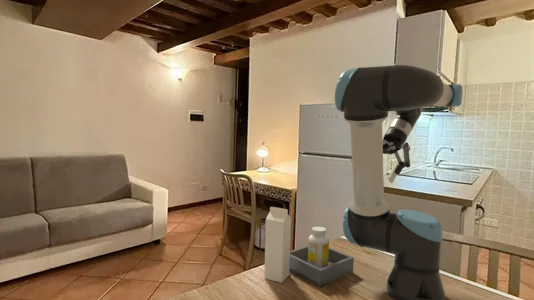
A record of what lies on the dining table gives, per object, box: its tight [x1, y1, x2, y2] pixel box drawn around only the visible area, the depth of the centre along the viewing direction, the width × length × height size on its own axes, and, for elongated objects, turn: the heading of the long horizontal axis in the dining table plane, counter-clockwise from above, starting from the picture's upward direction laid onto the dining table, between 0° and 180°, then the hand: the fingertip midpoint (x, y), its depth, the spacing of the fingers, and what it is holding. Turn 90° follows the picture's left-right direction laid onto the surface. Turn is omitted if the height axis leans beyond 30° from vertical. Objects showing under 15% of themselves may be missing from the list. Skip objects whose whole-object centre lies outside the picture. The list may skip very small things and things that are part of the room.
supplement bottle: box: [307, 226, 330, 269], centre depth 107 cm, size 7×7×13 cm
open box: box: [289, 245, 355, 288], centre depth 107 cm, size 16×16×5 cm
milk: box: [263, 206, 292, 284], centre depth 101 cm, size 6×6×22 cm
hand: (372, 177), depth 114 cm, fingers open, 13 cm apart
